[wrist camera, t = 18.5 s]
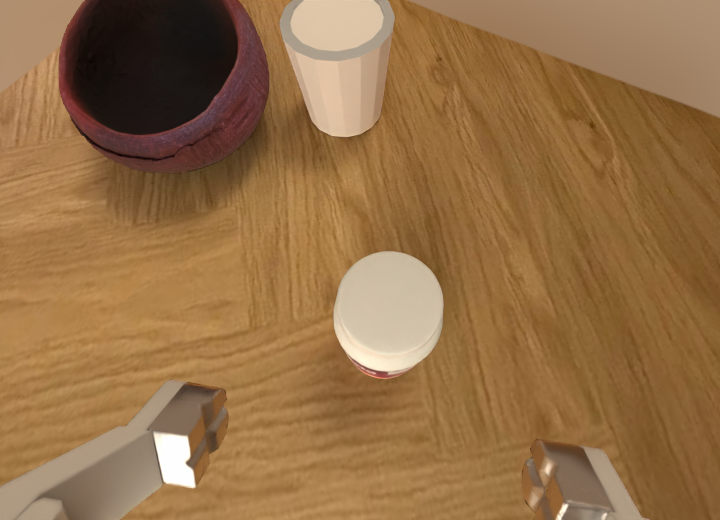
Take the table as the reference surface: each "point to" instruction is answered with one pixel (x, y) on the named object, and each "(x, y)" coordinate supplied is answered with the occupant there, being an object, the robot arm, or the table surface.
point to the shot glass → (340, 60)
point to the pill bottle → (388, 313)
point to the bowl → (163, 80)
